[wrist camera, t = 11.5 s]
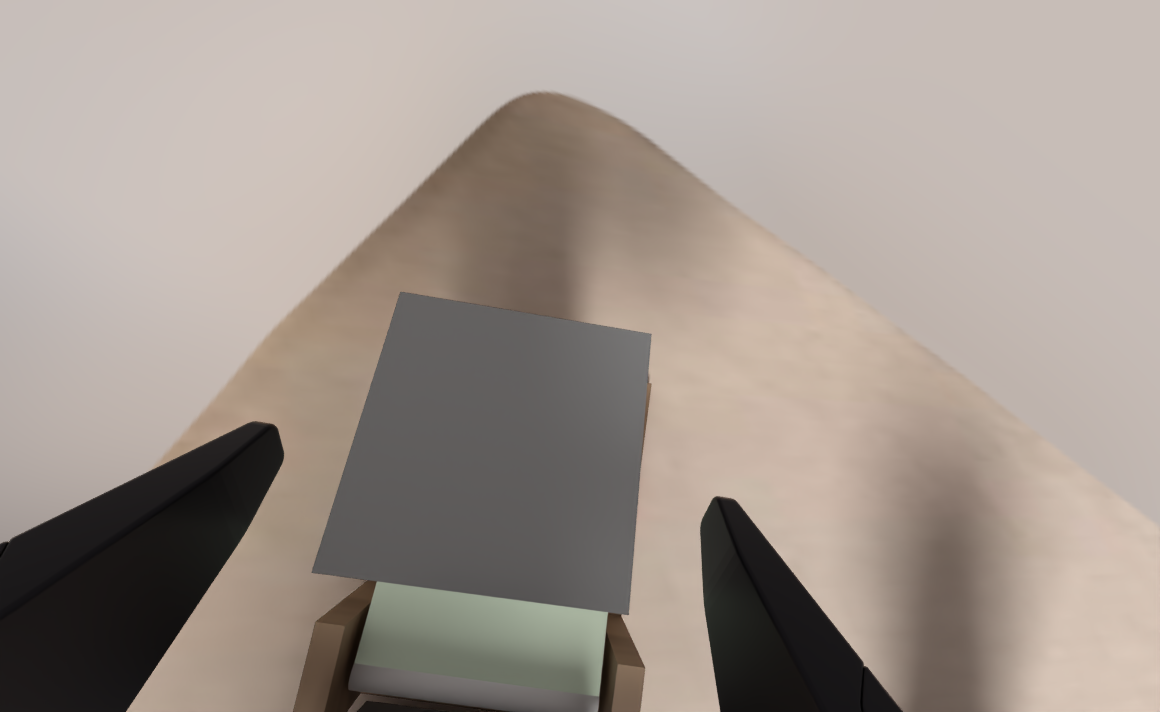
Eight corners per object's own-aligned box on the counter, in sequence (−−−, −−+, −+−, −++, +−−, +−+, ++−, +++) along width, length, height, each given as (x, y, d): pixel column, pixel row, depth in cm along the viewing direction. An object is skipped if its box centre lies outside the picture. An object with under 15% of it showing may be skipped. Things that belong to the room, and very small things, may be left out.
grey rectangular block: (566, 565, 18) (628, 615, 7) (442, 548, 18) (311, 572, 7) (582, 442, 20) (651, 334, 9) (469, 425, 20) (400, 291, 9)
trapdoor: (570, 820, 18) (589, 945, 13) (342, 792, 18) (260, 910, 12) (614, 433, 24) (640, 403, 19) (444, 405, 24) (419, 366, 18)
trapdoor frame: (605, 719, 21) (628, 815, 15) (347, 684, 20) (277, 772, 15) (649, 384, 24) (680, 367, 19) (426, 346, 23) (392, 317, 18)
